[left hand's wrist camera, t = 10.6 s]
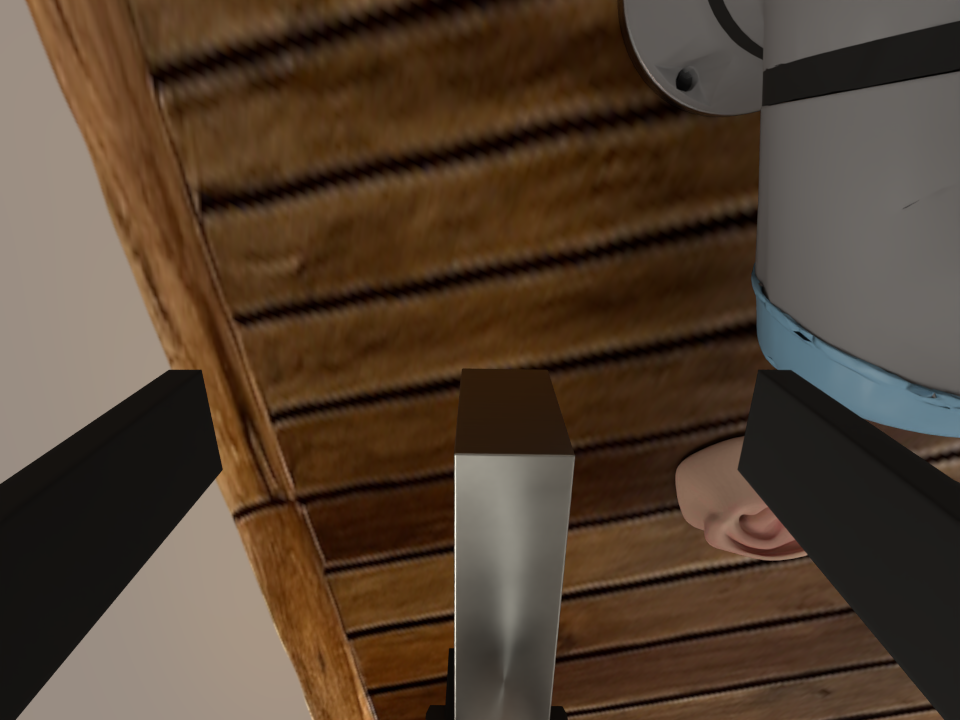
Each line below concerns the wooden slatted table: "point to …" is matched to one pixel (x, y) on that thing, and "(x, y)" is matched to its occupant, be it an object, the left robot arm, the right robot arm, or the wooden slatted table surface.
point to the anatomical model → (730, 505)
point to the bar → (508, 542)
